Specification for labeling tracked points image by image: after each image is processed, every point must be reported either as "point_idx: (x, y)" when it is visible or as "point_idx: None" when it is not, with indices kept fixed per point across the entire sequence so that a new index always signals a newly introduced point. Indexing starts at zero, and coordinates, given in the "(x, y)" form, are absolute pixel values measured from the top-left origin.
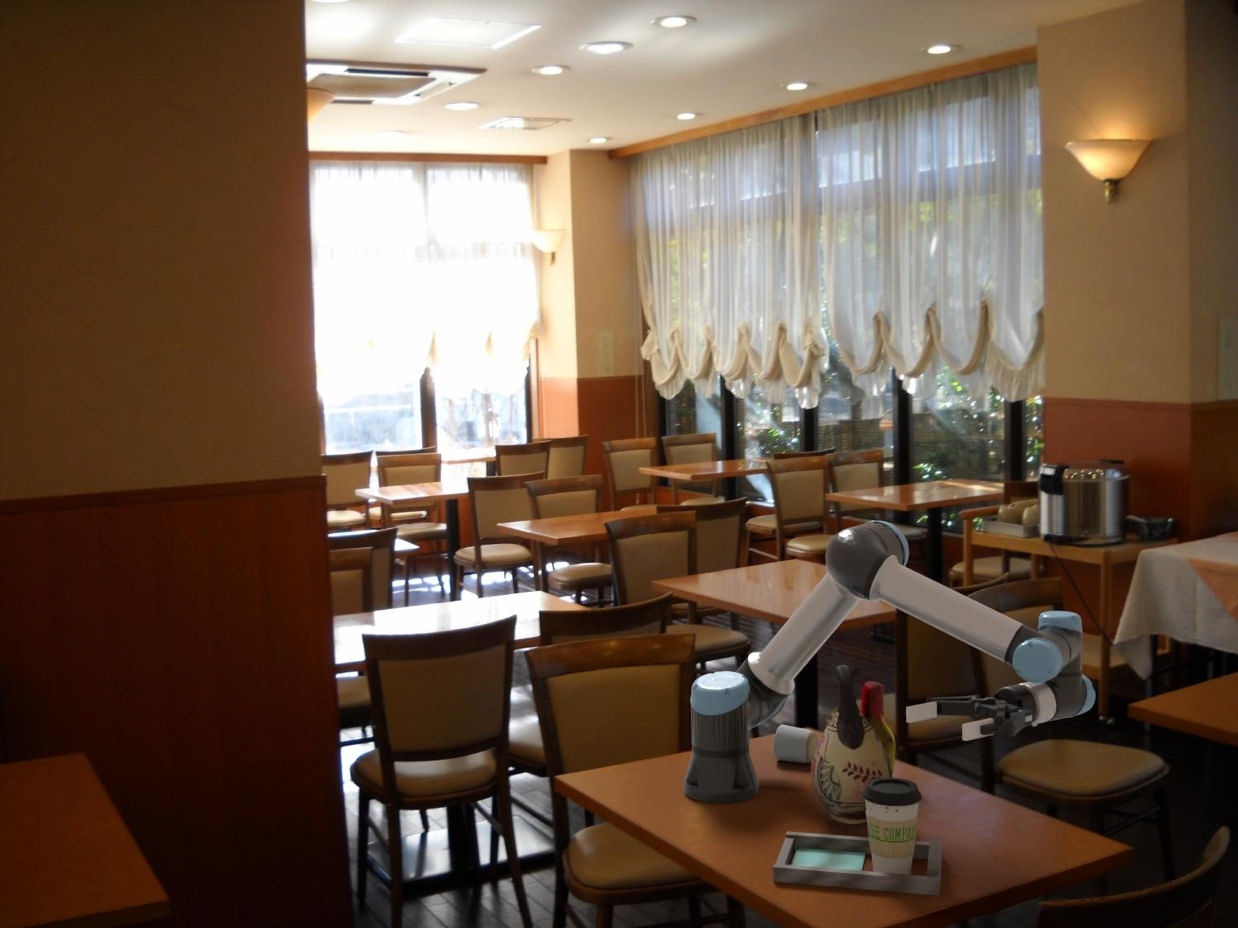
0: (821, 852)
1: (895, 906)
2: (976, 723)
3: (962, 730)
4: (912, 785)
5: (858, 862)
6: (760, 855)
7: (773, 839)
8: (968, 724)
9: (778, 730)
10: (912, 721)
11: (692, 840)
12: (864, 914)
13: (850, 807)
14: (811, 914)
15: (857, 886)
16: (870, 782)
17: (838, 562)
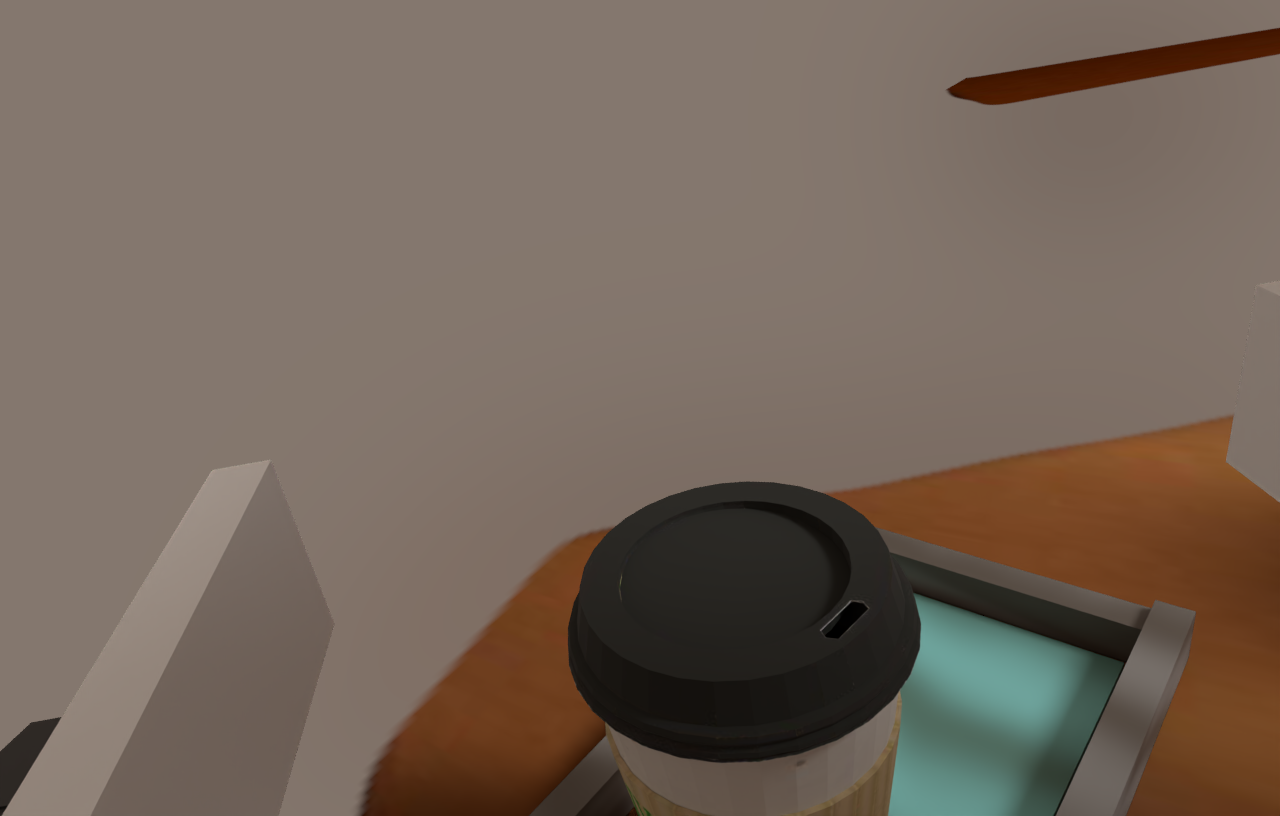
0: (1054, 722)
1: (479, 761)
2: (141, 606)
3: (293, 530)
4: (676, 653)
5: (903, 806)
6: (1069, 564)
7: (1262, 636)
8: (196, 502)
9: None
10: (1264, 482)
11: None
12: (492, 662)
13: None
14: (575, 560)
15: None
16: (824, 507)
17: None
